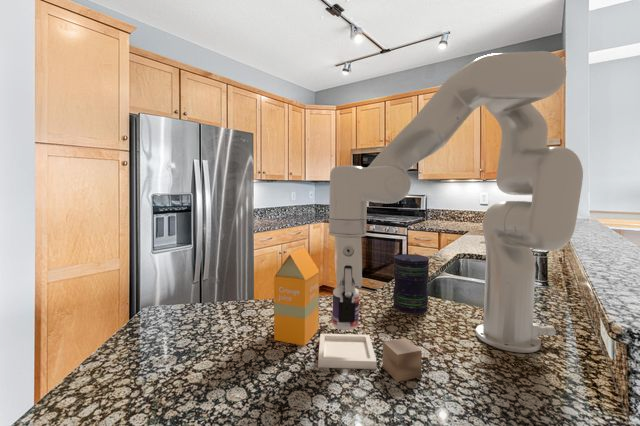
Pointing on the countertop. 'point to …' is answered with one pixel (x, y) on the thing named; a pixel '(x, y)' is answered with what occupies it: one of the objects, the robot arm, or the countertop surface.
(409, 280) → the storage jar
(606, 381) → the countertop surface
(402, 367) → the walnut block
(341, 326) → the pill bottle
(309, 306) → the orange juice
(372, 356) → the tray
